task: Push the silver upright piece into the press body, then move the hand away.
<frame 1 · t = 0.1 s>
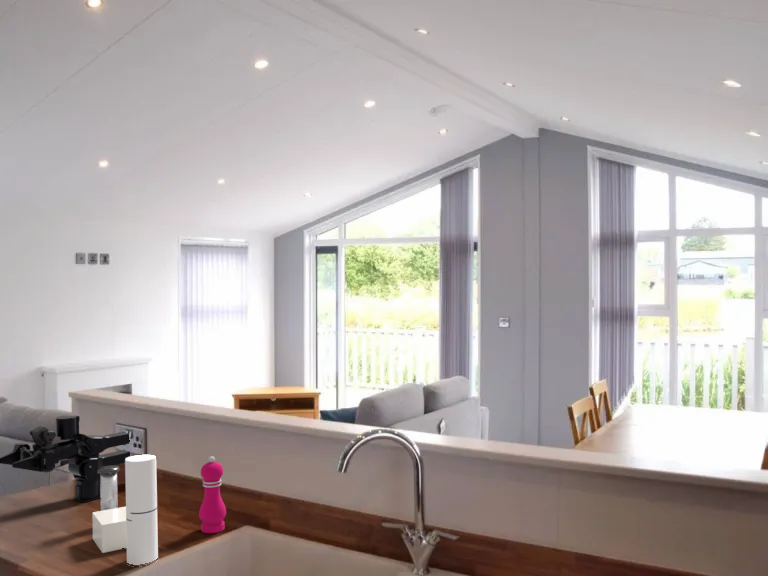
hand: (4, 463, 201), 17 cm above the counter, tool horizontal, fingers open, 9 cm apart
cylindrical container: (142, 561, 171), on the counter
pepper mill: (212, 530, 192), on the counter
silver upright piece: (112, 500, 192), point 8 cm above the counter, slide at 6.0 cm
press body: (117, 535, 188), on the counter
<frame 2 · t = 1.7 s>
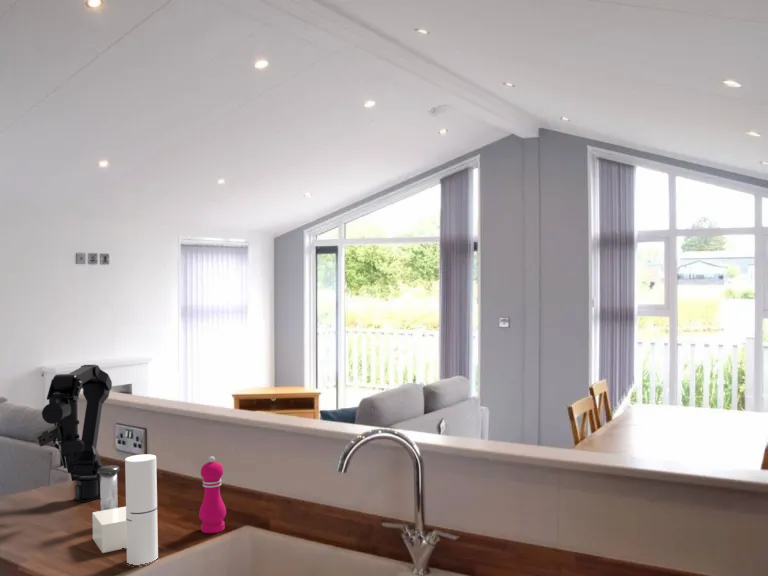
hand: (67, 470, 206), 13 cm above the counter, tool pointing down, fingers open, 6 cm apart
nothing on the counter moved.
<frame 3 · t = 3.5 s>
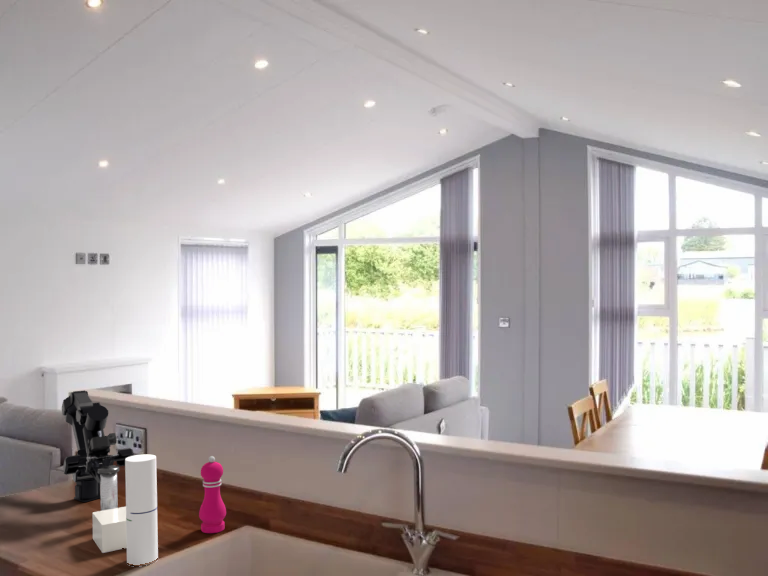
hand: (103, 485, 202), 9 cm above the counter, tool tilted 45°, fingers closed
nothing on the counter moved.
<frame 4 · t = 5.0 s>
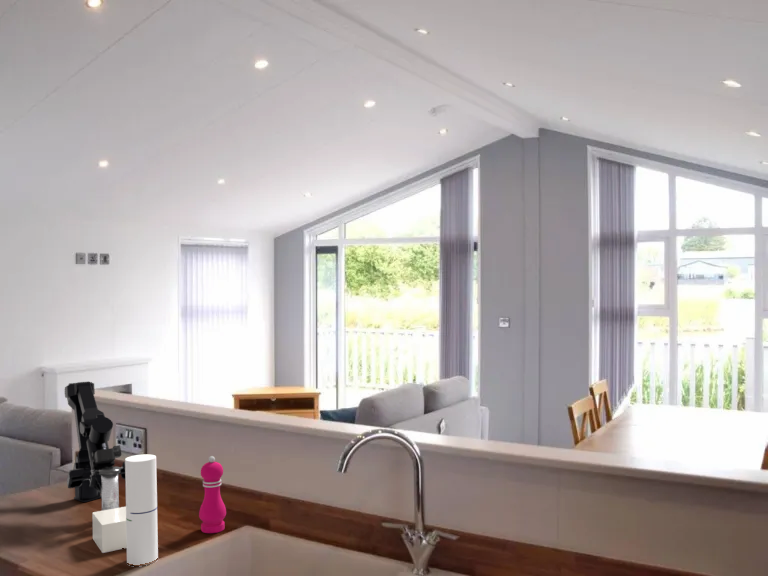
hand: (108, 499, 197), 7 cm above the counter, tool tilted 45°, fingers closed, pressing on silver upright piece
silver upright piece: (113, 501, 191), point 8 cm above the counter, slide at 4.5 cm, touching gripper
everything else where it was.
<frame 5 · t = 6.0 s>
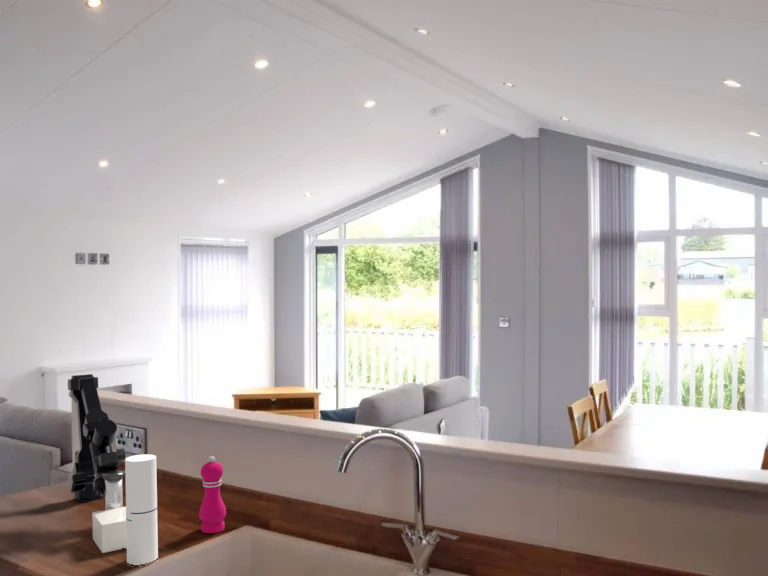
hand: (112, 504, 193), 7 cm above the counter, tool tilted 45°, fingers closed, pressing on silver upright piece
silver upright piece: (118, 506, 187), point 8 cm above the counter, slide at -0.2 cm, touching gripper
everything else where it was.
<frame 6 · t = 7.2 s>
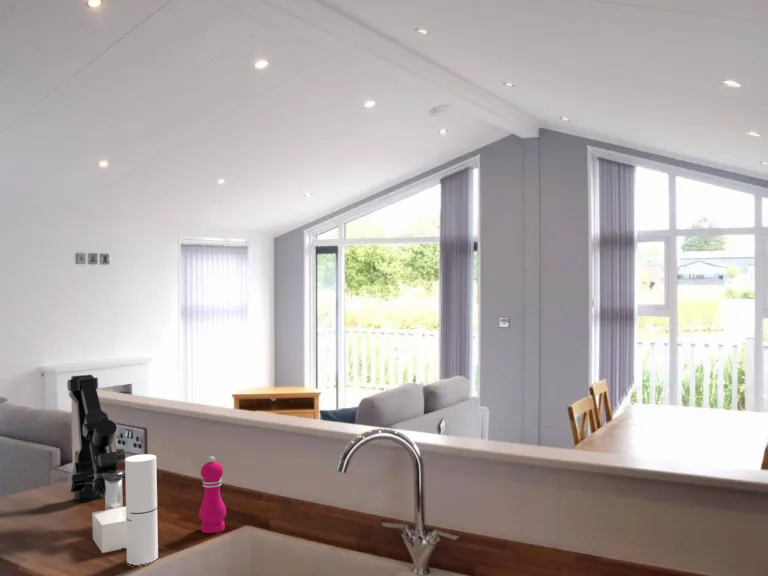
hand: (111, 504, 193), 7 cm above the counter, tool tilted 45°, fingers closed
silver upright piece: (117, 505, 187), point 8 cm above the counter, slide at 0.0 cm
everything else where it was.
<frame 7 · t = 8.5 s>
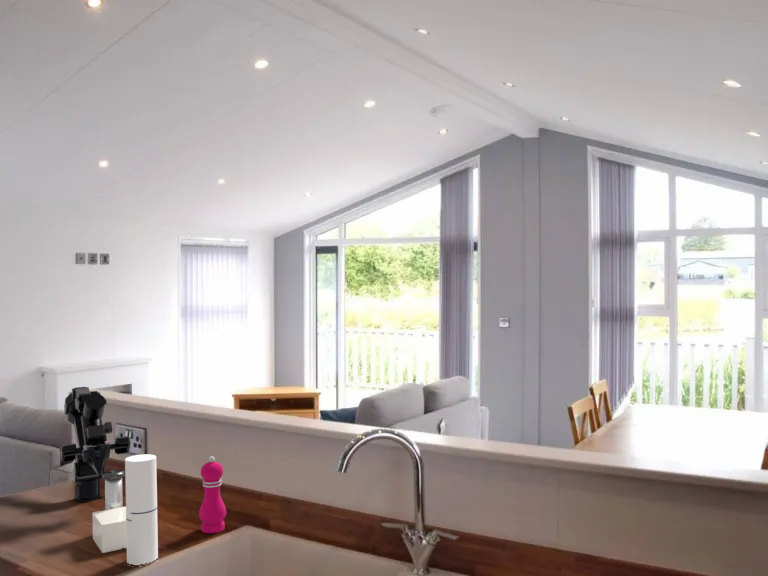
hand: (99, 474, 202), 13 cm above the counter, tool tilted 45°, fingers closed
nothing on the counter moved.
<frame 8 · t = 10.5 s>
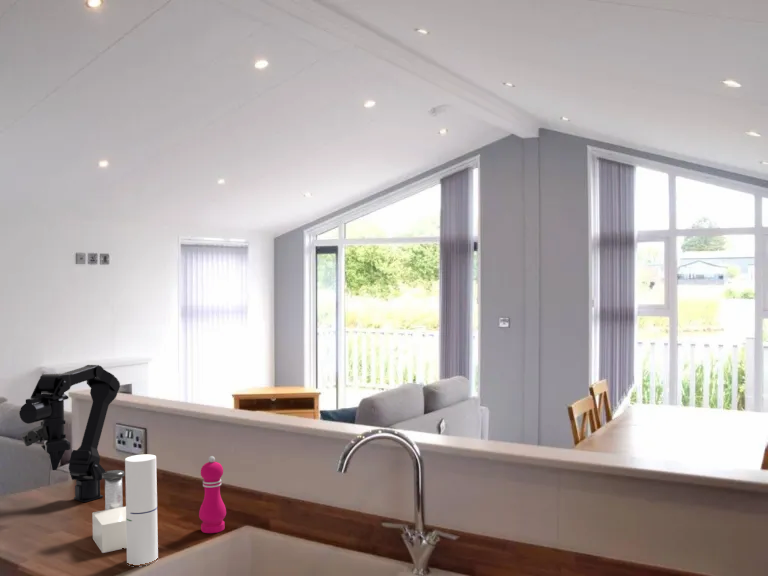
hand: (54, 470, 206), 13 cm above the counter, tool pointing down, fingers closed
nothing on the counter moved.
at the end: silver upright piece slide at 0.0 cm; silver upright piece touching nothing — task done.
